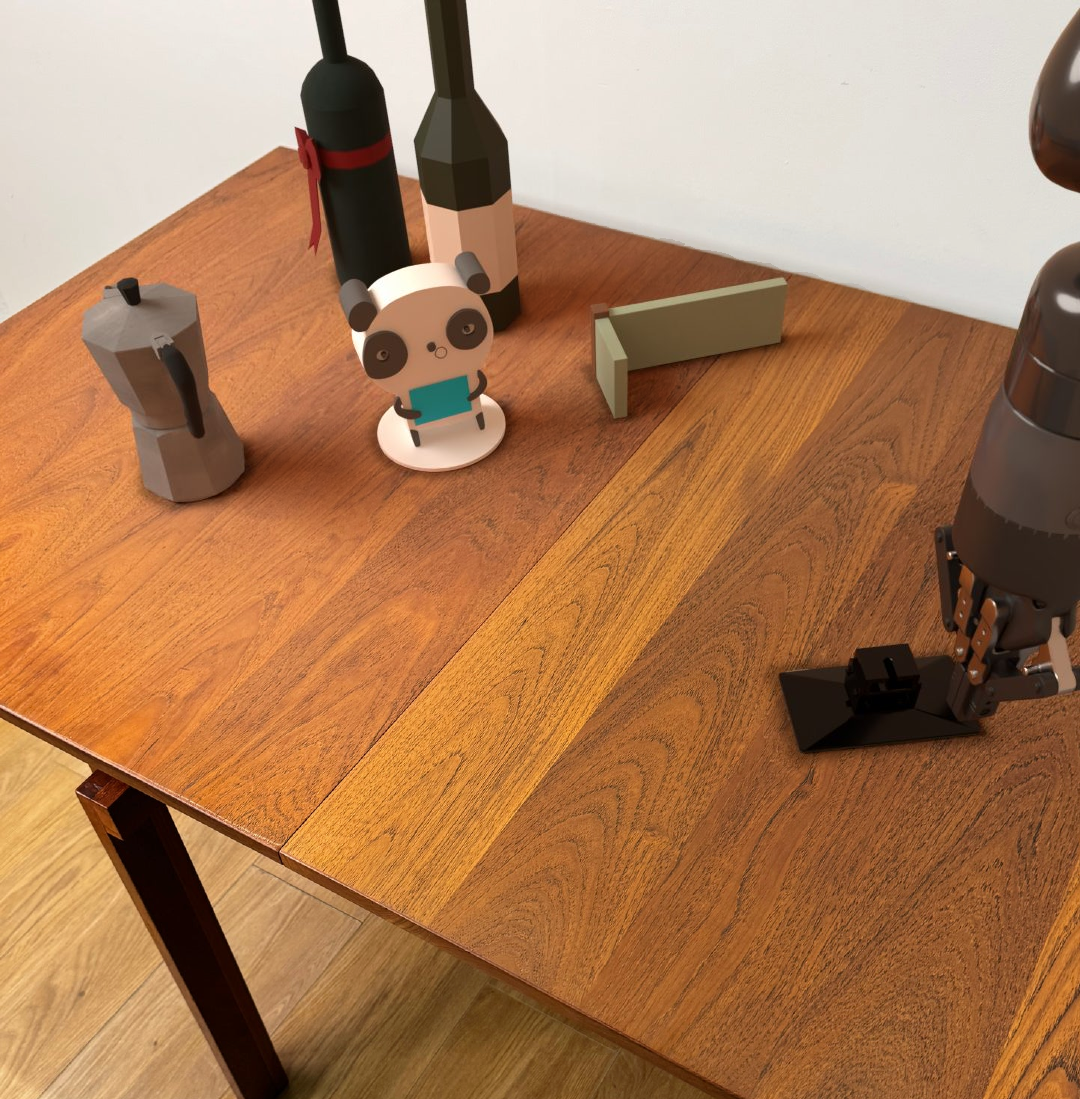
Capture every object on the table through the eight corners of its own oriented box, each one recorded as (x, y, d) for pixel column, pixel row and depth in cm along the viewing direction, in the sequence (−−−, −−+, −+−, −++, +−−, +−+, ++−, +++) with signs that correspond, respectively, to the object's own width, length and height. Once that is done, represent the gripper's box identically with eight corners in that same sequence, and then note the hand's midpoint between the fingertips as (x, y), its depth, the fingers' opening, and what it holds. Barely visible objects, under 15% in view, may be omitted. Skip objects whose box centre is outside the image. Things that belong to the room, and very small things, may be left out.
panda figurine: (388, 487, 98) (356, 331, 86) (357, 410, 105) (324, 256, 93) (522, 451, 100) (509, 294, 88) (483, 378, 107) (466, 223, 95)
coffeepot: (118, 451, 103) (38, 264, 89) (215, 410, 106) (152, 223, 92) (184, 547, 95) (107, 358, 81) (287, 501, 98) (231, 310, 84)
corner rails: (775, 334, 108) (783, 269, 103) (805, 382, 104) (815, 316, 99) (591, 369, 107) (589, 304, 102) (613, 419, 102) (612, 354, 97)
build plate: (799, 754, 79) (807, 712, 75) (776, 674, 83) (782, 629, 80) (980, 734, 79) (997, 690, 75) (947, 654, 83) (961, 609, 80)
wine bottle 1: (304, 276, 119) (225, -57, 96) (390, 243, 122) (334, -88, 99) (338, 311, 115) (264, -29, 92) (427, 275, 118) (377, -62, 95)
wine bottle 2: (445, 287, 117) (400, -53, 93) (527, 289, 116) (502, -55, 92) (429, 335, 112) (377, -12, 88) (514, 338, 110) (485, -13, 87)
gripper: (1212, 554, 50) (1085, 786, 64) (1060, 377, 58) (976, 616, 72) (1050, 588, 49) (957, 815, 63) (919, 404, 57) (861, 640, 71)
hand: (967, 708), depth 67 cm, fingers closed
